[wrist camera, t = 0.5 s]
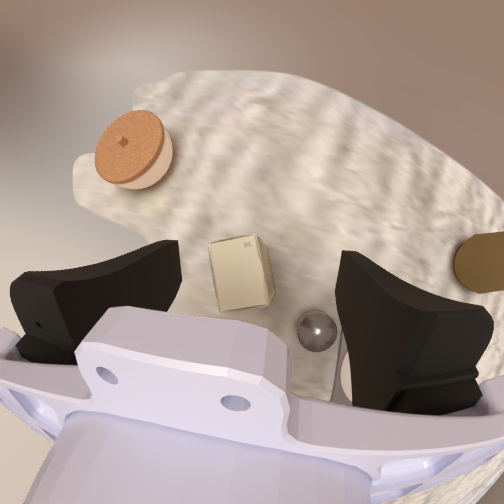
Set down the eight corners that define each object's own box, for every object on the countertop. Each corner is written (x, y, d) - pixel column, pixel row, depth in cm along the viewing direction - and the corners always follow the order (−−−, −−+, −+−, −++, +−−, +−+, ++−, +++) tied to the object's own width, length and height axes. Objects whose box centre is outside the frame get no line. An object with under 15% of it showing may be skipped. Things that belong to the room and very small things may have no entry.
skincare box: (233, 253, 35) (205, 238, 23) (267, 246, 35) (256, 228, 23) (242, 303, 34) (217, 314, 22) (276, 297, 34) (269, 306, 22)
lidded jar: (129, 210, 38) (91, 193, 29) (117, 155, 39) (84, 130, 30) (192, 178, 37) (164, 149, 28) (173, 123, 39) (148, 90, 29)
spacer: (329, 344, 32) (334, 352, 28) (295, 343, 33) (296, 350, 29) (333, 310, 33) (339, 314, 29) (298, 308, 33) (300, 312, 29)
